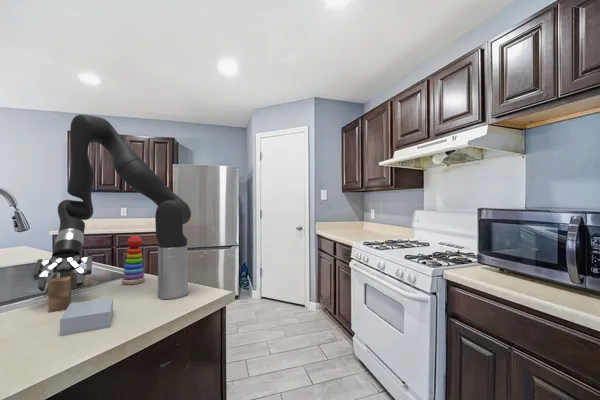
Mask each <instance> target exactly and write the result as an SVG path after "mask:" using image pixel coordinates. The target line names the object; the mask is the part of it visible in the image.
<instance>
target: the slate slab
mask: <svg viewBox="0 0 600 400" xmlns="http://www.w3.org/2000/svg"><path fill="white" fill-rule="evenodd" d="M113 312H114V297H109V298H101V299H95V300H87V301H79V302H73V303H72V302H71V304H70V305H69V306H68V308H67V310H64V313H63V314H62V316H61V317H60V319H59V336H60V337H61V336H67V335H74V334H78V333H84V332H89V331H95V330H101V329H105V328H110V326H111V322H112V317H113Z"/></svg>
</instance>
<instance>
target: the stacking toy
mask: <svg viewBox="0 0 600 400" xmlns="http://www.w3.org/2000/svg"><path fill="white" fill-rule="evenodd" d="M142 243H143V239H142V237H140V236H138V235H133V236H130V237H129V238H128V239H127V246H128V249H126V252H127V254H126V255H125V256H126V259H125V264H124V266H123V268H124V269H123V274H122V280H121V283H122V284H123V285H126V284H127V285H128V286H131V284H133V285H137V284H141V283H143V282H145V272H144V270H145V269H144V267H143V266H144V263H143V261H144V259H143V253H142V248H141V245H143V244H142Z"/></svg>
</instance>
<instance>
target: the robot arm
mask: <svg viewBox="0 0 600 400" xmlns="http://www.w3.org/2000/svg"><path fill="white" fill-rule="evenodd" d="M69 131H70V132H69V133H70V134H69V135H70V142H69V143H70V162H71V163H70V174H69V180H68V184H67V194H68V195H70V196H72V197H75V198H78V199H80V200H73V199H64V200H61V201H60V203H59V204H58V206H57V215H58V217H59V218H58V219H59V230H58V233H57V236H56V238H55V241H54V246H53V248H52V249H53V250H52V254H51V257H50V259H49V260H43V259H42V258H39V259H37V260H36V263H35V266H34V269H33V271H32V274H31V276H32V277H33V280H34V281H37V280H38V282H37V288H38V290H39V291H40V292H45V290H46V289H45V288H46V285H47V280H48V279H49V278H51V277H53V276H54V275H55V274H57V273H58V274H62V273H70V272H74V273H75V274H77V278H76V288H80V287H81V286H82V285H83V284H84V278H85V277H86V276H90V275H92V270H93V259H92V258H93V257H92V256H91V255H87V256H86V257H82V253H83V248H84V242H85V241H84V239H85V238H84V235H85V231H86V230H85V229H86V223H85V221H86V220H90V219H91V218H92V217H93V215H94V205H93V202H92V190H93V187H94V180H95V173H94V169H93V167H92V163H91V161H90V159H89V155H88V154H89V153H88V150H89V145H90V144H91V143H96V144H100V145H102V147H103V148H105V149H106V150H107V151H108V152H109V154H110V155H111V157H112V163H113V168H114V171H115V172H116V173H117V174H118V175H119V177H120V178H121V179H122V180H123V181H124V182H125V183H126V184H127V185H128V186H129V187H130V188H132V189H133V190H135V191H136V192H138V193H139V194H142V195H143V196H144V197H146V198H148V199H149V200H150V201H152V202H153V203H154V204H155V205H156V206H157V207H156V211H155V215H154V217H155V220H154V221H155V223H154V224H155V238H156V241H157V243H158V247H157V251H158V254H157V298H158V299H162V300H171V299H172V300H174V299H177V298H178V299H179V298H182V297H184V296H188V294H189V292H188V291H189V267H188V237H187V236H185V234H184V231H183V230H184V226H183V225H185V224H187V223H188V222H190V219H191V217H192V211H191V208H190V206H189V204H188V203H187V202H185V201H184V200H183V199H182V198H180V197H179V195H177V194H176V193H175V192H173V191H172V190H171V189H170V188H169V187H168V186H167V185H166V184H165V183H164V182H163V180H162V179H161V178H160V177H159V176H158V175H157V173H155V172H154V171H153V170H152V168H151V167H150V166H149V165H148V163H146V162H145V161H144V160H143V159H142V157H140V156H139V155H138V154H137V153H136V152H135V151H134V150H133V148H131V147H130V146H129V145H128V144H127V143H126V142H125V140H124V139H123V138H122V136H120V134H119V133H118V132H117V130H116V129H115V127H114V126H113V125H112V124H111V123H110V122H109V121H108V120H107V119H105V118H103V117H100V116H93V115H88V114H77V115H75V116H74V117H73V118H72V120H71V122H70V129H69ZM82 263H84V265H86V266H85V267H86V269H83V268H82V267H81V266H80V265H81V264H82ZM48 265H49V266H48ZM45 268H46V269H45ZM43 269H45V270H44V271H43ZM42 271H43V272H42Z"/></svg>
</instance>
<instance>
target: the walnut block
mask: <svg viewBox="0 0 600 400" xmlns="http://www.w3.org/2000/svg"><path fill="white" fill-rule="evenodd" d="M47 289H48V295H47V297H48V298H47V300H48V301H47V302H48V303H47V306H48V307H47V313H48V314H49V313H55V312H56V313H57V312H65V311H66V310H67V308H68V306H69V305H70V304H72V276H64V277H54V278H51V279H50V280H49V281H48V288H47Z"/></svg>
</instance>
